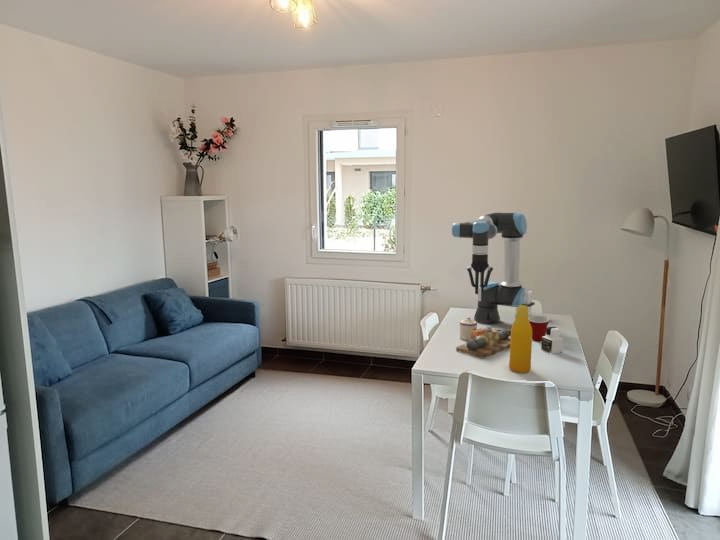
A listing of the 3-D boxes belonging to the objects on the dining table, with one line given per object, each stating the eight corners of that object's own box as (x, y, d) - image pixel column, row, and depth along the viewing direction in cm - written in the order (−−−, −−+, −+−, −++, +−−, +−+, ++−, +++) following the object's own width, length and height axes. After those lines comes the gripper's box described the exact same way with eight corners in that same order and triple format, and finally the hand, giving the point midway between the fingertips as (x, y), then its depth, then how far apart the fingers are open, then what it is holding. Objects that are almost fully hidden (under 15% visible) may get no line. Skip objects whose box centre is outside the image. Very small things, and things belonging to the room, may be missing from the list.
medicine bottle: (540, 350, 272) (542, 326, 270) (552, 348, 275) (553, 325, 273) (551, 354, 266) (552, 330, 264) (562, 352, 268) (564, 328, 266)
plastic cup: (523, 340, 288) (524, 318, 286) (532, 336, 296) (533, 314, 294) (543, 344, 281) (544, 321, 279) (552, 340, 289) (553, 317, 287)
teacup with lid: (474, 341, 286) (475, 320, 284) (457, 339, 290) (458, 318, 288) (479, 335, 297) (480, 314, 295) (462, 333, 301) (463, 313, 299)
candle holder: (550, 315, 341) (551, 289, 338) (535, 323, 322) (537, 296, 319) (511, 309, 356) (512, 284, 353) (495, 317, 337) (496, 291, 335)
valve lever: (488, 329, 277) (488, 325, 277) (493, 330, 275) (493, 327, 274) (471, 335, 268) (471, 331, 267) (476, 336, 266) (476, 332, 265)
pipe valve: (492, 337, 293) (493, 321, 292) (519, 344, 282) (520, 327, 280) (456, 350, 271) (456, 333, 270) (483, 358, 260) (484, 339, 258)
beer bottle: (529, 367, 248) (532, 304, 243) (531, 374, 239) (534, 309, 234) (508, 365, 250) (511, 303, 245) (509, 372, 241) (512, 308, 236)
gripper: (491, 252, 273) (490, 298, 277) (465, 252, 273) (464, 298, 277) (495, 254, 266) (493, 302, 270) (468, 255, 266) (467, 302, 270)
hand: (478, 300), depth 274 cm, fingers closed
